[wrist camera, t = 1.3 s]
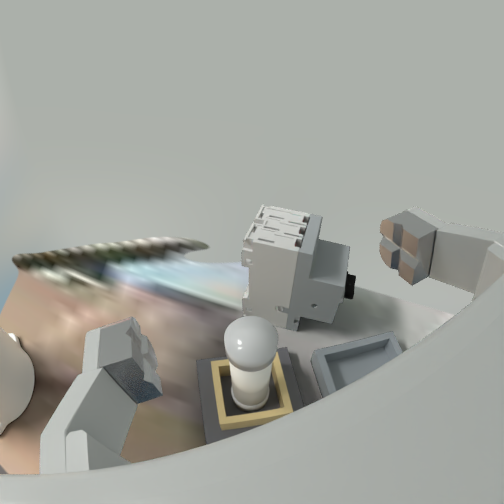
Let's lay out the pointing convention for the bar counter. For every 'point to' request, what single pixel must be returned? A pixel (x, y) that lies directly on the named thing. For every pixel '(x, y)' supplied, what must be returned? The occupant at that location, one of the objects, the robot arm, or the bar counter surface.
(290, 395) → the block
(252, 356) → the cylinder
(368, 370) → the parts tray
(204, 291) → the bar counter surface
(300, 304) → the circuit breaker
